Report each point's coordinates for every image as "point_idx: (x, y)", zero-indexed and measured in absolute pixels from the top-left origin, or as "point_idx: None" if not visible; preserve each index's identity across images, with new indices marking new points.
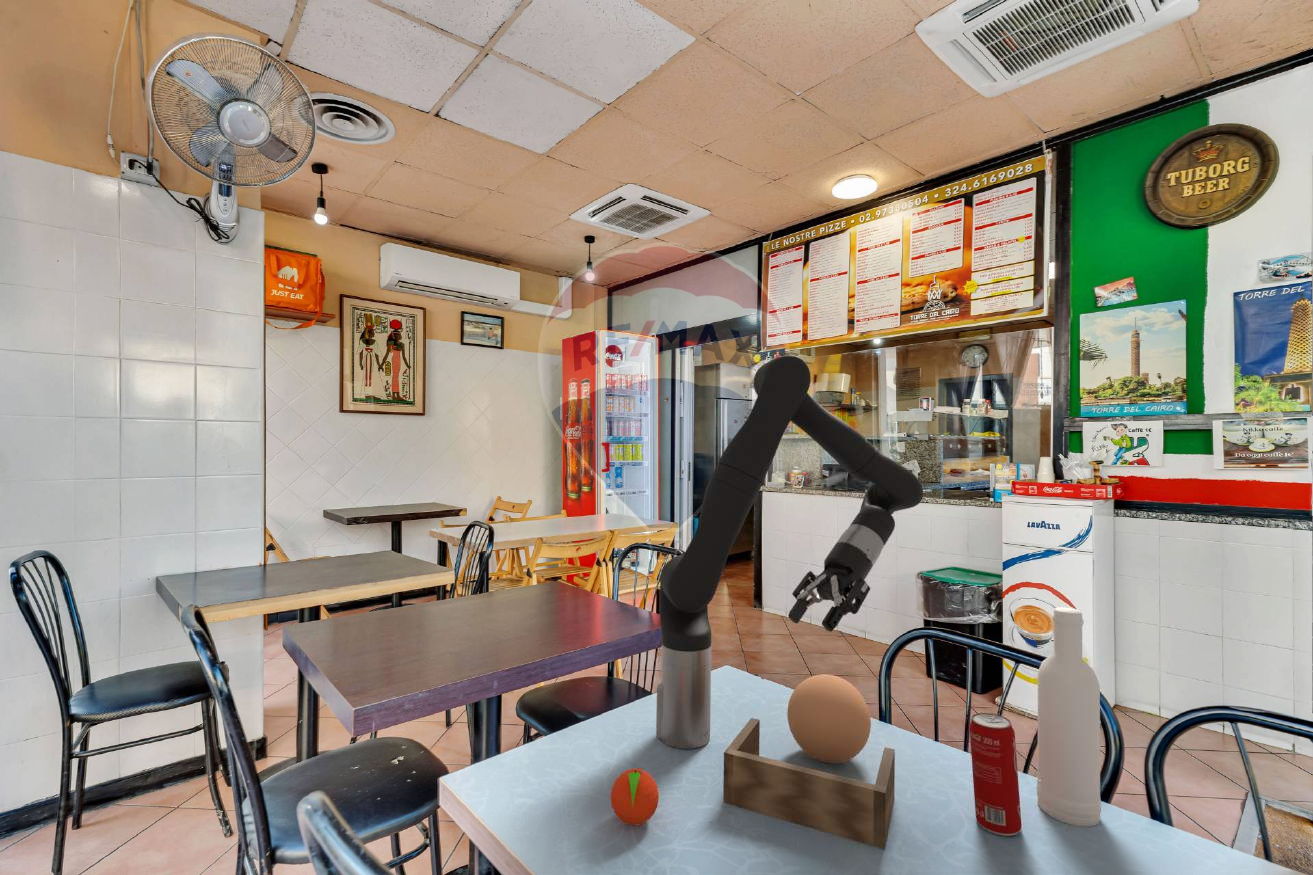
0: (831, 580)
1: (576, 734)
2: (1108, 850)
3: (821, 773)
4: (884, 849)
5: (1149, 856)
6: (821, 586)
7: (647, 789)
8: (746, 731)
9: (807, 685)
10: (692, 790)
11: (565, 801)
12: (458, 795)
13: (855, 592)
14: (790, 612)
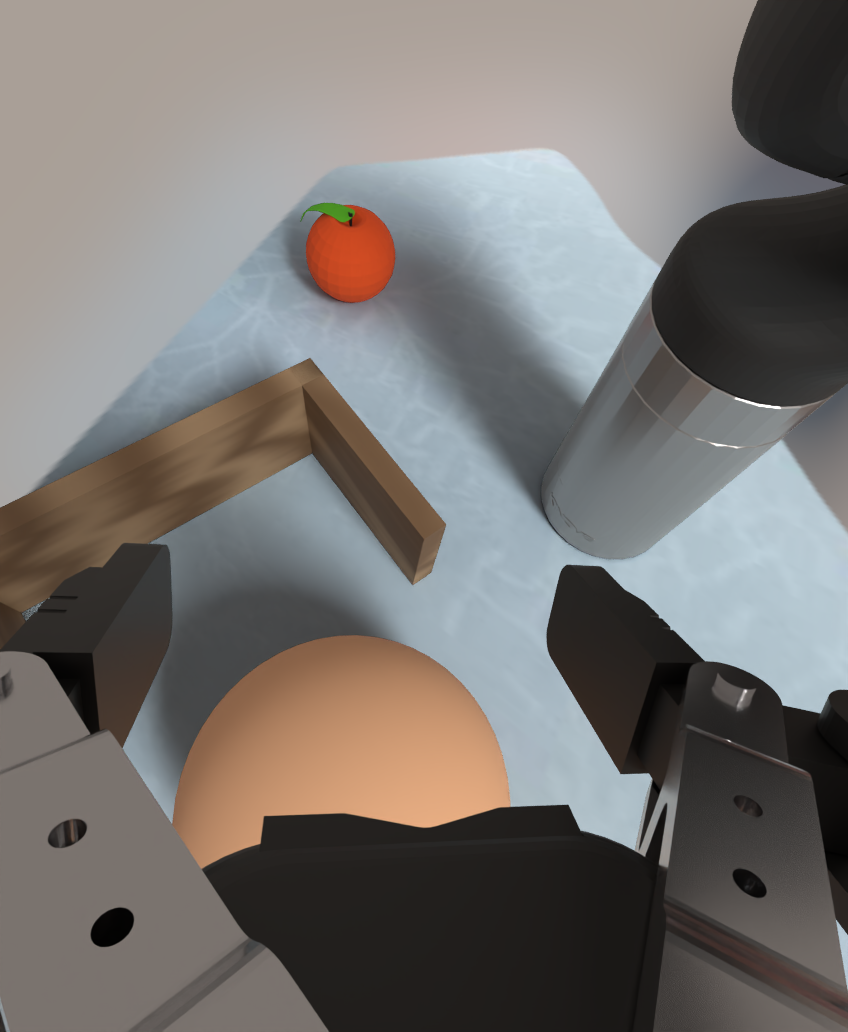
0: (289, 1028)
1: None
2: None
3: (80, 485)
4: None
5: None
6: (600, 922)
7: (314, 235)
8: (376, 462)
9: (378, 688)
10: (386, 403)
11: (452, 238)
12: (529, 149)
13: None
14: (600, 574)
